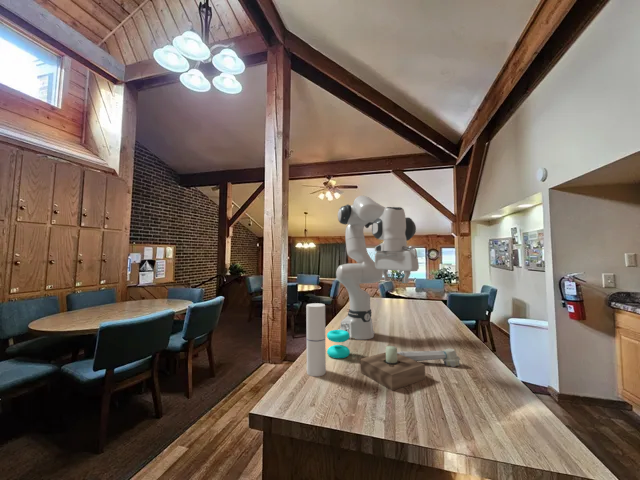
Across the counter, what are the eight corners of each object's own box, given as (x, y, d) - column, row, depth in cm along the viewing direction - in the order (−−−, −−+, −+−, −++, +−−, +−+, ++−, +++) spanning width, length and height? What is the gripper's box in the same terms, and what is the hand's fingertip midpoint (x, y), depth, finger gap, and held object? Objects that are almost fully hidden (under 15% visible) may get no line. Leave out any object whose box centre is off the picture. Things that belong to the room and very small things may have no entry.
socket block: (360, 372, 103) (360, 358, 103) (391, 363, 111) (391, 350, 111) (392, 390, 89) (391, 374, 89) (425, 378, 97) (424, 364, 98)
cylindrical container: (303, 374, 101) (303, 306, 103) (310, 367, 108) (310, 302, 109) (321, 377, 99) (321, 307, 100) (328, 369, 106) (327, 303, 107)
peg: (383, 374, 101) (383, 347, 101) (391, 372, 103) (391, 345, 103) (391, 379, 97) (391, 350, 98) (400, 376, 99) (399, 348, 100)
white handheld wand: (392, 350, 116) (455, 344, 112) (395, 366, 116) (458, 361, 112) (393, 354, 111) (459, 349, 107) (396, 371, 111) (462, 366, 106)
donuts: (340, 327, 128) (354, 332, 120) (340, 349, 128) (354, 356, 119) (322, 331, 123) (335, 336, 114) (322, 354, 122) (336, 361, 114)
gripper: (421, 246, 102) (423, 283, 101) (383, 247, 120) (383, 279, 119) (410, 246, 99) (411, 284, 98) (371, 247, 116) (372, 280, 116)
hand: (395, 281), depth 109 cm, fingers open, 8 cm apart
